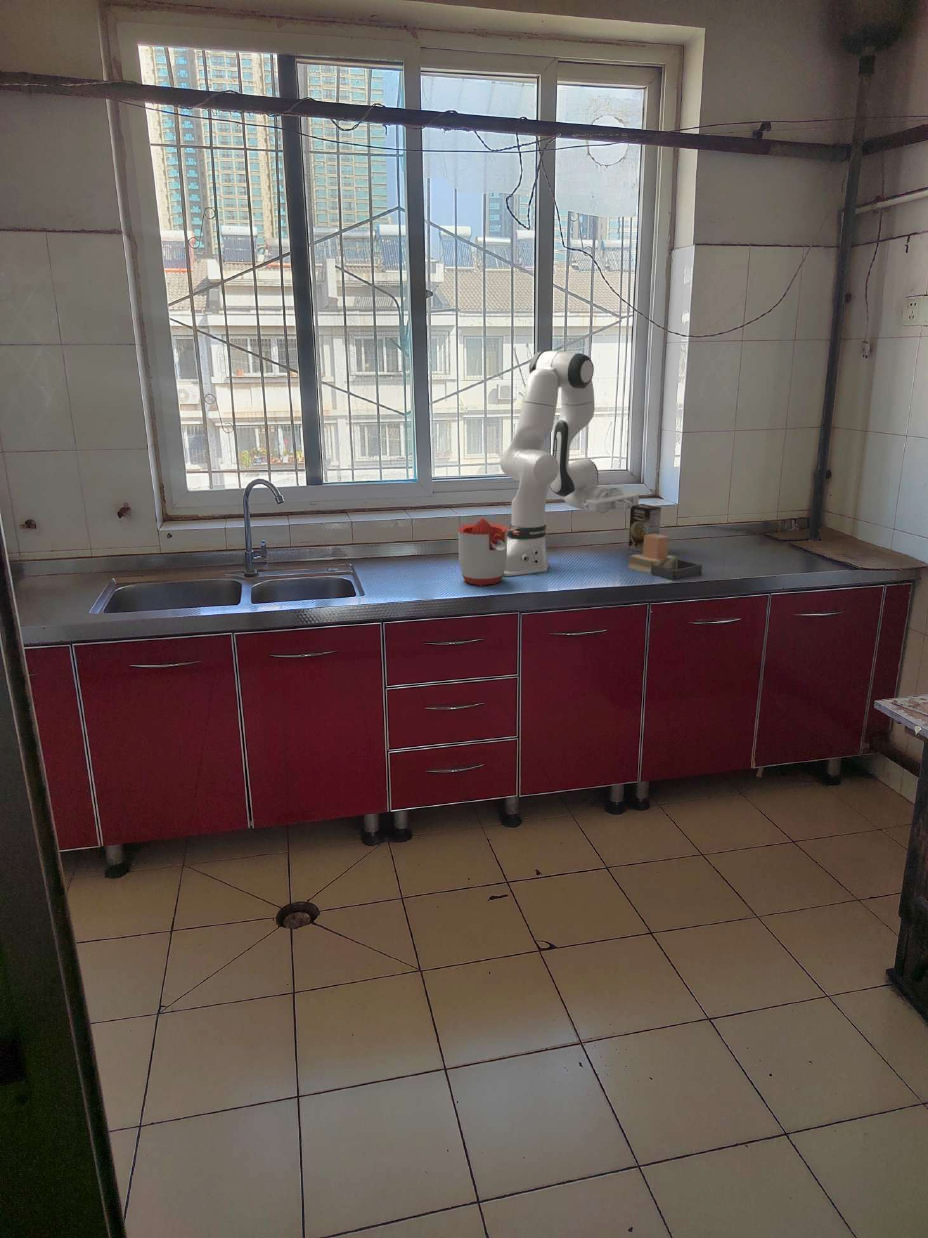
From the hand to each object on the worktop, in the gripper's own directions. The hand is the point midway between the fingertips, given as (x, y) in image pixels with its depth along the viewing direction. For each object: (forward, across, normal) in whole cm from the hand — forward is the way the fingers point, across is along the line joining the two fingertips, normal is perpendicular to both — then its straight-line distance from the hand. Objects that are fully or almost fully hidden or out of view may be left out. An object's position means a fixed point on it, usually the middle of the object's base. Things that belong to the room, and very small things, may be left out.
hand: (629, 505), depth 271 cm
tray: (+22, -1, +19) cm, 29 cm away
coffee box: (-8, +16, +20) cm, 27 cm away
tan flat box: (+12, -1, +19) cm, 23 cm away
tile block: (+13, -1, +15) cm, 20 cm away
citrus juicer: (-8, -55, +18) cm, 58 cm away
